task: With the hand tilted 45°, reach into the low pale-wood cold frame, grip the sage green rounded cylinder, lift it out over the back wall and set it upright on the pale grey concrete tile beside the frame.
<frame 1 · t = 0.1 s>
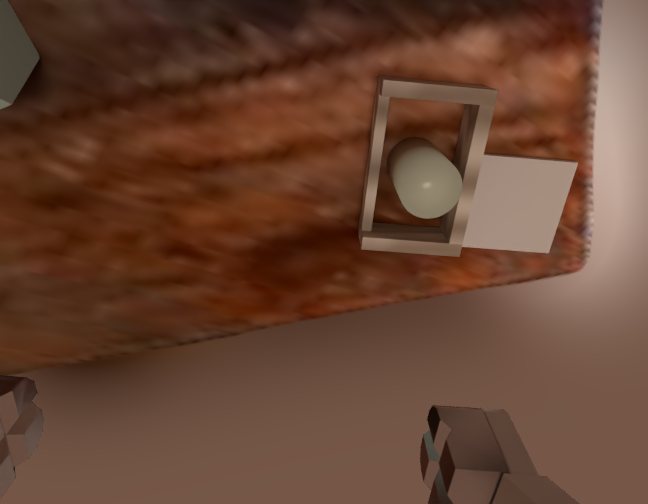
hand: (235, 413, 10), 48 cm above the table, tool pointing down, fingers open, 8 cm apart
concrete tile: (512, 203, 58), on the table
cold frame: (416, 164, 56), on the table
sage green rounded cylinder: (413, 163, 56), resting in cold frame
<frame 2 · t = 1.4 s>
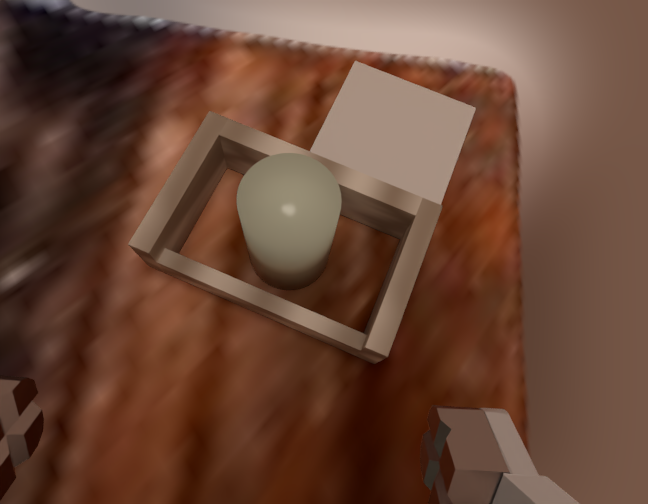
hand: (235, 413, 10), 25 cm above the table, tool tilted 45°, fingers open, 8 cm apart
concrete tile: (390, 141, 42), on the table
cold frame: (291, 247, 38), on the table
sage green rounded cylinder: (289, 251, 38), resting in cold frame
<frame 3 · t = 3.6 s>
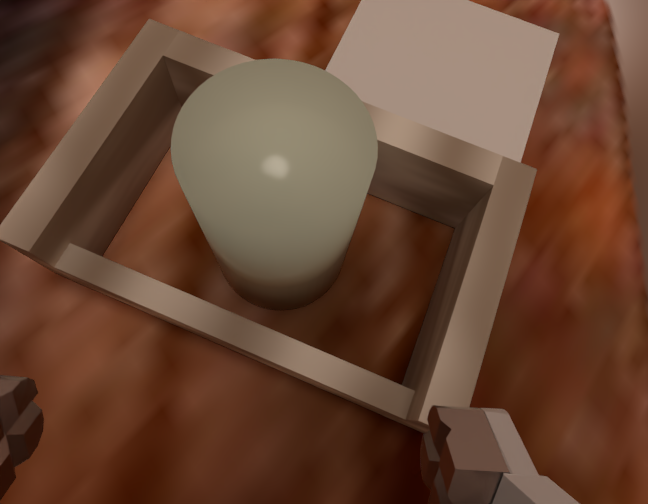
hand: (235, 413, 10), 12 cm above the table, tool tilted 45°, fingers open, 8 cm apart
concrete tile: (433, 82, 28), on the table
cold frame: (285, 242, 24), on the table
sage green rounded cylinder: (281, 248, 24), resting in cold frame
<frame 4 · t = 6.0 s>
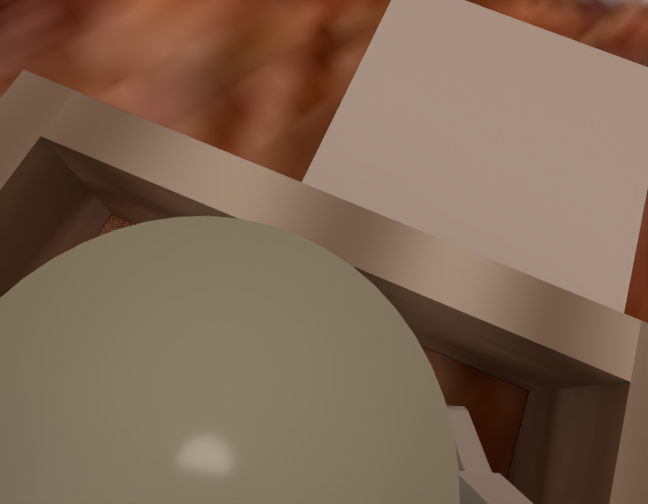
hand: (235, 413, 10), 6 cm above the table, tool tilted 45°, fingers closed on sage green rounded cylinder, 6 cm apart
concrete tile: (486, 148, 19), on the table
cold frame: (259, 422, 15), on the table
sage green rounded cylinder: (253, 434, 15), resting in cold frame, touching gripper
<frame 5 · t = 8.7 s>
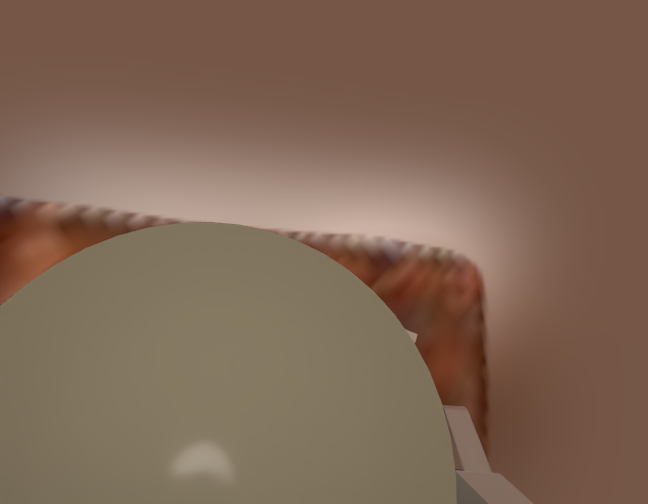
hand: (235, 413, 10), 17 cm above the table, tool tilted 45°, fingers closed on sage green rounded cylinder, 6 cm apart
sage green rounded cylinder: (253, 436, 15), point 11 cm above the table, touching gripper
when the fingers open (8 cm above the table, at t = 11.4 s): sage green rounded cylinder drops 1 cm, resting on concrete tile.
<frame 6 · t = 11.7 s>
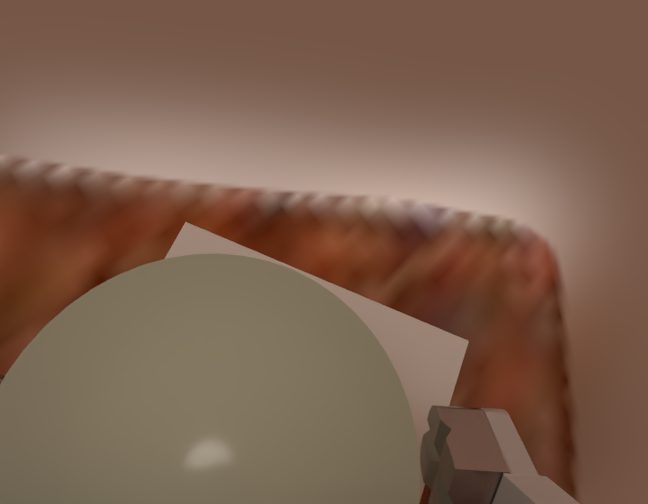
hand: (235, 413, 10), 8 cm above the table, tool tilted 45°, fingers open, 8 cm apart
concrete tile: (259, 431, 17), on the table
sage green rounded cylinder: (254, 433, 16), point 1 cm above the table, touching concrete tile
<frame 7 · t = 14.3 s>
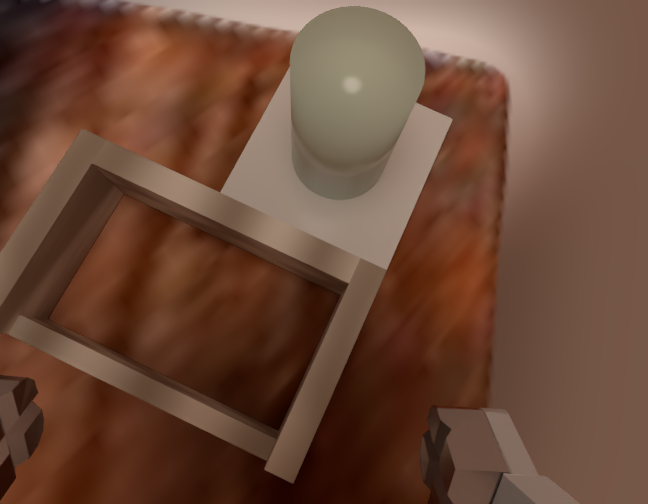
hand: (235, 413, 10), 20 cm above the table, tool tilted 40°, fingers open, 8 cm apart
concrete tile: (339, 160, 32), on the table
cold frame: (199, 304, 30), on the table
sage green rounded cylinder: (338, 155, 31), point 1 cm above the table, touching concrete tile
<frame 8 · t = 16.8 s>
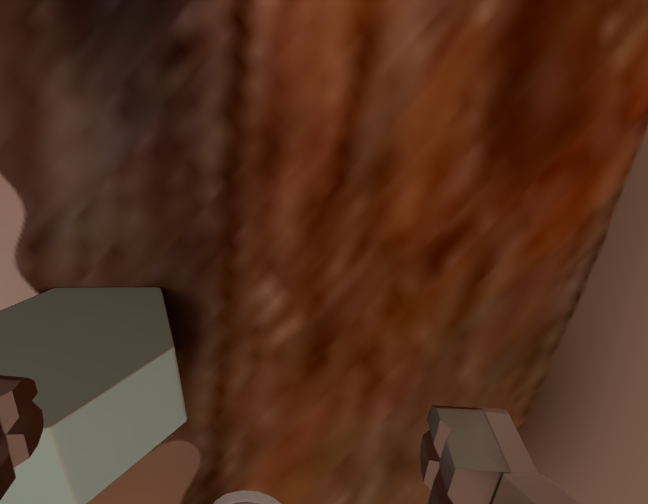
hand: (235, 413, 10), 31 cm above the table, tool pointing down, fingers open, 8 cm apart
grey-green faceted block: (109, 319, 46), on the table
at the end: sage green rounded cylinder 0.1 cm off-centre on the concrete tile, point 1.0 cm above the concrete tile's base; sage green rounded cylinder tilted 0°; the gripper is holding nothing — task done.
